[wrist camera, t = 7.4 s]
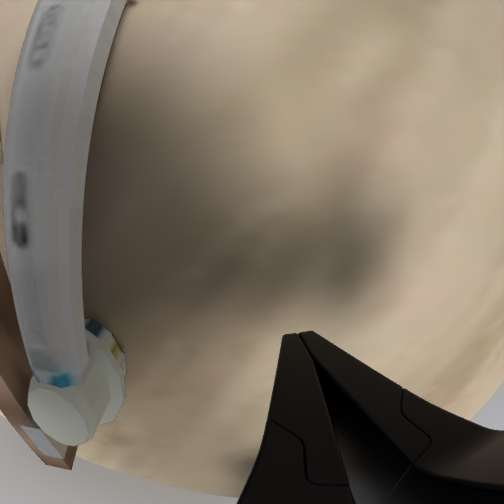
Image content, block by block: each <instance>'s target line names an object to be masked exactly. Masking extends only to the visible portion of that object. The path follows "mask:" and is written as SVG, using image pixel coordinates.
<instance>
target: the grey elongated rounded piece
mask: <svg viewBox="0 0 504 504" xmlns="http://www.w3.org/2000/svg"><path fill="white" fill-rule="evenodd" d="M128 1H130V0H38V2H37V4H36V7H35V10H34V12H33V15H32V18H31V21H30V24H29V27H28V30H27V33H26V36H25V40H24V43H23V47H22V50H21V54H20V58H19V62H18V66H17V70H16V75H15V80H14V85H13V90H12V95H11V101H10V107H9V114H8V122H7V130H6V140H5V153H4V172H3V210H4V230H5V242H6V253H7V261H8V269H9V276H10V282H11V289H12V294H13V300H14V305H15V310H16V314H17V319H18V323H19V327H20V332H21V335H22V339H23V343H24V347H25V350H26V354H27V357H28V360H29V364H30V367H31V370H32V373H33V376H32V378H31V381H30V386H29V391H28V407H29V410H30V412H31V415H32V417H33V419H34V421H35V422H36V423H37V424H38V426H39V427H40V428H41V429H42V430H43V431H44V433H46V434H47V435H49V436H50V437H51V438H53V439H54V440H56V441H57V442H59V443H62V444H66V445H70V446H76V445H80V444H83V443H85V442H87V441H88V440H90V439H91V438H92V436H93V434H94V432H95V430H96V428H97V426H100V425H103V424H106V423H108V422H111V421H114V420H115V419H116V417H117V415H118V413H119V411H120V409H121V407H122V405H123V404H124V400H125V397H126V392H125V385H124V379H125V376H126V373H127V372H126V362H125V352H121V350H120V349H119V347H118V345H117V344H116V342H115V340H114V338H113V336H112V335H111V334H112V333H111V332H110V331H108V330H107V329H105V328H104V327H103V326H101V325H100V324H98V323H97V322H96V321H94V320H92V319H85V318H84V311H83V293H82V221H83V203H84V190H85V179H86V170H87V161H88V154H89V146H90V140H91V133H92V127H93V122H94V116H95V111H96V106H97V101H98V96H99V92H100V87H101V83H102V79H103V75H104V71H105V67H106V63H107V59H108V56H109V52H110V49H111V45H112V42H113V39H114V35H115V32H116V29H117V26H118V23H119V20H120V17H121V15H122V12H123V9H124V6H125V4H126V3H127V2H128Z"/></svg>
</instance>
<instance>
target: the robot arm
mask: <svg viewBox="0 0 504 504" xmlns="http://www.w3.org/2000/svg"><path fill="white" fill-rule="evenodd" d="M237 504H504V431H500V430H493V429H489V428H486V427H483V426H480V425H478V424H475V423H473V422H471V421H469V420H466V419H464V418H462V417H459V416H457V415H455V414H452V413H450V412H448V411H446V410H444V409H442V408H440V407H437V406H435V405H433V404H431V403H429V402H428V401H426V400H424V399H422V398H420V397H419V396H417V395H415V394H413V393H412V392H410V391H408V390H407V389H405V388H403V389H402V386H400V385H398V384H397V383H395V382H393V381H392V380H390V379H388V378H387V377H385V376H383V375H382V374H380V373H379V372H377V371H375V370H374V369H372V368H371V367H369V366H367V365H366V364H364V363H363V362H361V361H359V360H358V359H356V358H355V357H353V356H351V355H350V354H348V353H347V352H345V351H343V350H342V349H340V348H339V347H337V346H336V345H334V344H333V343H331V342H329V341H328V340H326V339H325V338H323V337H322V336H320V335H319V334H317V333H315V332H314V331H306V332H300V333H299V334H297V333H292V334H285V335H283V337H282V342H281V348H280V354H279V359H278V365H277V370H276V376H275V381H274V386H273V391H272V397H271V402H270V407H269V412H268V417H267V421H266V426H265V430H264V435H263V439H262V442H261V446H260V450H259V452H258V455H257V458H256V460H255V463H254V466H253V468H252V471H251V473H250V475H249V477H248V480H247V482H246V484H245V486H244V489H243V491H242V493H241V495H240V497H239V500H238V502H237Z"/></svg>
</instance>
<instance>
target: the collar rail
mask: <svg viewBox="0 0 504 504" xmlns="http://www.w3.org/2000/svg"><path fill="white" fill-rule="evenodd" d="M0 162H3V159H2V149H1V135H0ZM32 376H33V373H32V370H31V367H30V364H29V360H28V357H27V354H26V350H25V347H24V343H23V339H22V335H21V332H20V327H19V323H18V319H17V314H16V310H15V305H14V300H13V294H12V290H11V287H10V284H9V281H8V278H7V275H6V272H5V268H4V265H3V262H2V258H1V255H0V410H1V411H2V412H3V414H4V415H5V417H6V418H7V419H8V421H9V422H10V423H11V424H12V426H13V427H14V428H15V430H16V431H17V432H18V433H19V435H20V436H21V437H22V438H23V439H24V441H25V442H26V443H27V444H28V445H29V447H30V448H31V449H32V450H33V451H34V452H35V453H36V455H37V456H38V457H39V458H40V459H41V460H42V461H43V462H44V463H45V464H46V465H50V466H55V467H59V468H64V469H69V470H72V466H73V461H74V458H75V454H76V451H77V447H78V445H76V446H70V445H66V444H62V443H59V442H57V441H56V440H54V439H53V438H51V437H50V436H49V435H47V434H46V433H44V431H43V430H42V429H41V428H40V427H39V426H38V424H37V423H36V422H35V421H34V419H33V417H32V415H31V412H30V410H29V407H28V391H29V386H30V381H31V378H32Z"/></svg>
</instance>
